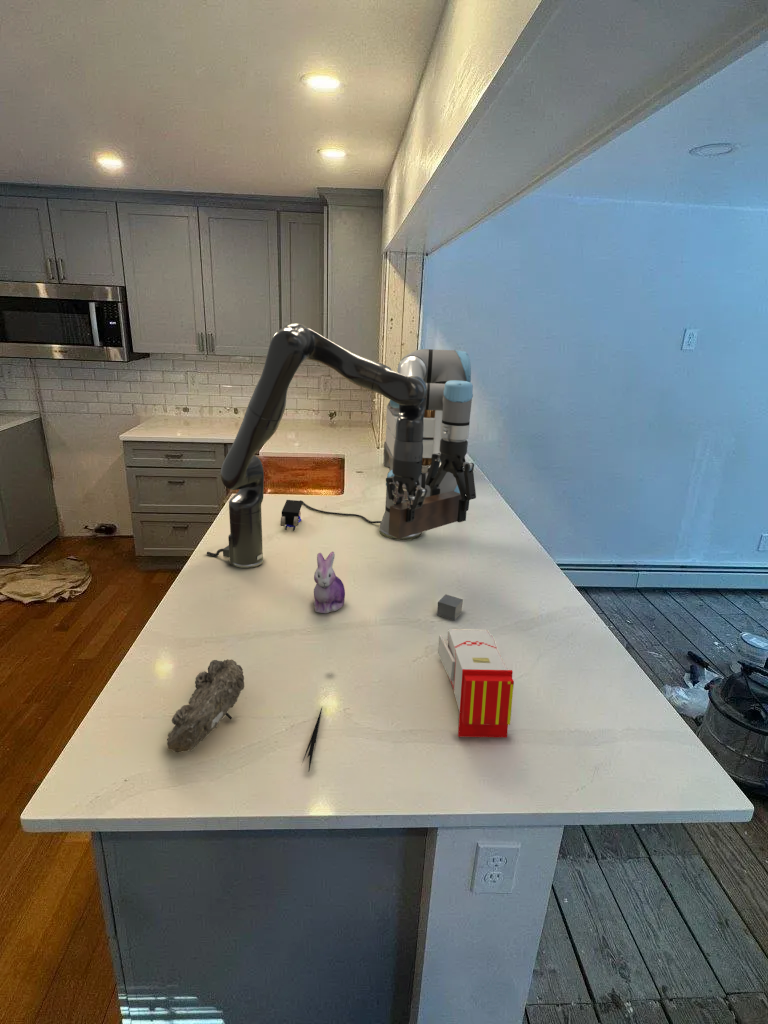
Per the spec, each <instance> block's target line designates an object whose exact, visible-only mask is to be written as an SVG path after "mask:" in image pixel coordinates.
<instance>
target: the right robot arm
mask: <svg viewBox="0 0 768 1024" xmlns="http://www.w3.org/2000/svg"><path fill="white" fill-rule="evenodd" d="M396 372H397V373H400V374H402V375H405V376H408V377H409V376H418V377H420V378H422V379H423V380H424V382H425V383H426V386H427V398H426V406H425V410H435V422H434V439H433V454H432V462H431V465H430V466H429V465H428V466H427V469H426V472H421V475H420V477H419V483H420V486H421V487H422V488H426V489H427V494H426V497H429V496H433V495H437V494H441V493H445V492H450V491H454V492H457V493H460V495H461V498H462V499H460V500H459V507H458V518H457V523H463V522H465V521H466V519H467V512H469V509H470V501H472V500H475V499H476V498H477V492H476V483H475V473H474V469H475V464H474V462H467V460H466V455H467V453H468V447H469V446H468V445H469V442H468V439H469V435H470V422H471V421H470V418H471V411H472V401H473V397H474V393H473V389H474V386H473V383H472V382H471V381H472V366H471V359H470V355H469V353H468V352H467V351H464V350H457V349H432V348H431V349H429V348H421V349H416V350H413V351H411V352H409V353H408V354H406V355H404V356H403V357H402V358H401V359H400V361H399V362H398V364H397V369H396ZM389 401H390V405H391V407H393V408H399V404H398V403H396V402H394V401H392V400H390V399H389ZM393 476H394V474H393V472H392V470H391V471H390V470H389V471H388V473H387V475H386V478H388V477H393ZM385 487H386V488H385V489H386V490H385V504H384V505H385V507H384V508H385V509H384V513H383V515H382V519H381V520H373V521H372V520H369V519H367V517H365V516H364V515H361V514H357V513H343V512H333V511H326V510H322V509H317V508H314V507H312V506H310V505H308V504H306V503H305V501H303V504H302V506H304V507H305V508H307V509H310V510H311V511H315V512H318V513H321V514H322V513H323V514H327V515H334V516H335V515H336V516H347V517H348V516H349V517H358V518H360V519H362V520H364V521H365V522H367V523H368V524H379V525H378V533H379V534H380V535H381V536H382V537H385V538H387V539H389V540H395V541H410V540H415V539H418V538H420V537H421V536H422V535H423V532H420V533H417V534H413V535H410V536H406V537H403V538H400V539H398V538H396V537H393V536H391V535H389V516H390V506H392V505H394V503H393V500H392V499H391V500H390V499H389V496H388V490H387V484H386V483H385ZM393 494H394V492H393V490H392V495H393ZM409 497H412V495H410V496H409ZM299 501H302V500H299ZM411 501H412V500H411ZM405 502H406V501H405V498H403V501H402V502H401V503H405Z"/></svg>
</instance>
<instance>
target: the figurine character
mask: <svg viewBox="0 0 768 1024" xmlns="http://www.w3.org/2000/svg"><path fill="white" fill-rule="evenodd" d="M303 502H304V501H303V500H301V501H300V500H297V499H296V500H295V499H286V501H285V503H284V505H283V507H282V510H281V517H280V521H279V522H280V527H284V531H287V530H288V528H292V531H293V532H295V531H296V527H298V526H299V524H300V522H302V518H301V516H302V515H301V509H302V506H303Z"/></svg>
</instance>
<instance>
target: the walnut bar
mask: <svg viewBox="0 0 768 1024" xmlns="http://www.w3.org/2000/svg"><path fill="white" fill-rule="evenodd" d="M460 499H462V498H461V495H460V493H457V492H454V491H450V492H445V493H441V494H437V495H433V496H429V497H425V499H424V502H423V505H422V507H421V508H417V509H415V519H414V521H413V522H410V523H408V522H406V513H407V502H405V503H400V504H396V505H392V506H390V516H389V535H391V536H393V537H396V538H398V539H400V538H403V537H406V536H410V535H413V534H417V533H420V532H422V533H423V532H427V531H430V530H434V529H436V528H440V527H444V526H446V525H450V524H453V523H456V522H457V518H458V507H459V500H460ZM411 504H412V501H411ZM457 523H458V522H457Z"/></svg>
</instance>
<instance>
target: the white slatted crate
mask: <svg viewBox="0 0 768 1024" xmlns="http://www.w3.org/2000/svg"><path fill="white" fill-rule="evenodd" d="M385 414H386V415H385V423H386V428H385V438H384V442H383V466H384V467H388V468H389V472H390V471H391V470H392V469H393V451H394V443H395V434H396V422H397V418H398V415H399V408H393V407H391V405H390V400H389V402H388V404H387V405H386V413H385ZM434 422H435V410H425V412H424V431H423V458H422V467H429V466H430V465H431V462H432V454H433V439H434Z"/></svg>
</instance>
